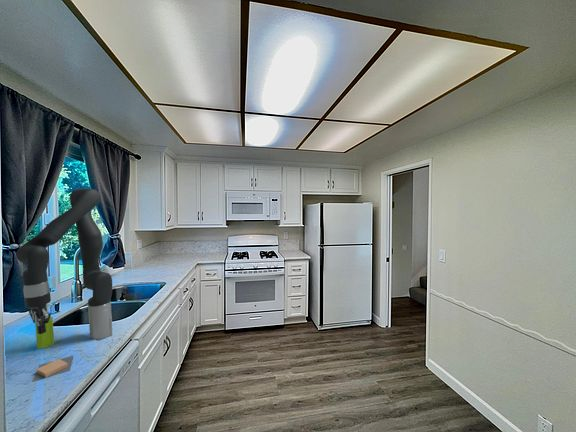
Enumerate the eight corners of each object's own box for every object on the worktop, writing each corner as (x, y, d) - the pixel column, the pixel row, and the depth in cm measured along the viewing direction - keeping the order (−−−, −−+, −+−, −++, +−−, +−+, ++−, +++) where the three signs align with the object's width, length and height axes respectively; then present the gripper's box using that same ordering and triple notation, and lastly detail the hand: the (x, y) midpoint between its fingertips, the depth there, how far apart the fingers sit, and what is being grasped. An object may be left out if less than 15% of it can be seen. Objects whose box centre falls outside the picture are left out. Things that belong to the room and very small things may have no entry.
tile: (36, 368, 100) (45, 374, 97) (58, 358, 106) (67, 363, 103) (37, 372, 100) (45, 377, 97) (59, 362, 106) (67, 366, 103)
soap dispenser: (35, 345, 119) (32, 305, 118) (55, 341, 123) (52, 301, 122) (32, 352, 115) (29, 309, 113) (52, 346, 119) (50, 306, 117)
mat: (73, 356, 111) (73, 355, 111) (70, 371, 101) (69, 370, 101) (39, 366, 105) (39, 364, 105) (31, 383, 95) (31, 382, 95)
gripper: (17, 294, 102) (22, 334, 104) (32, 299, 97) (37, 341, 98) (41, 287, 109) (45, 325, 111) (57, 292, 103) (61, 331, 105)
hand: (42, 333), depth 104 cm, fingers closed
